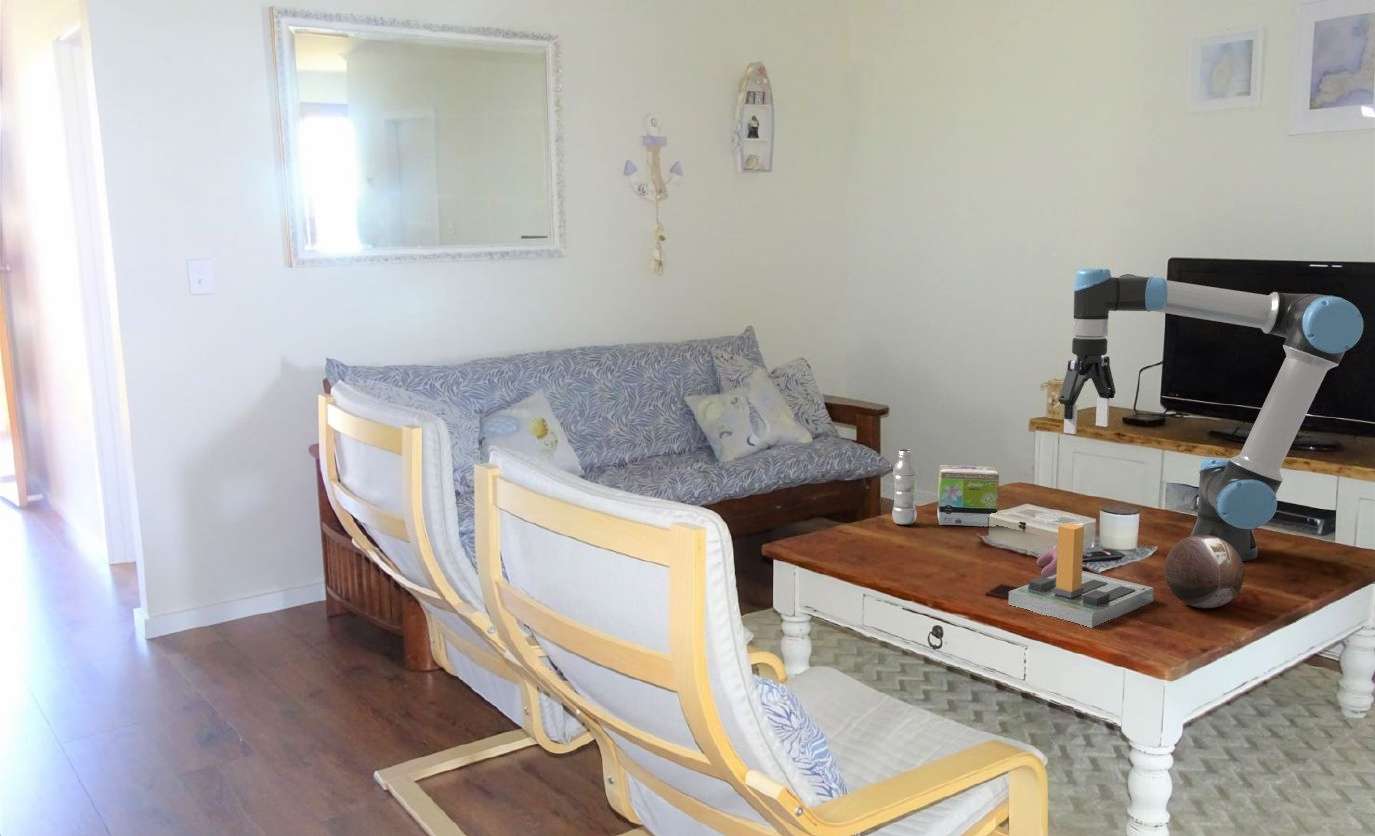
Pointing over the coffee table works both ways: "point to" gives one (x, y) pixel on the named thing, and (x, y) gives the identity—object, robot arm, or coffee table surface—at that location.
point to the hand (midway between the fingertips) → (1086, 429)
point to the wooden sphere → (1204, 571)
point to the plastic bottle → (904, 488)
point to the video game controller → (1048, 562)
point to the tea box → (967, 494)
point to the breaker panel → (1082, 599)
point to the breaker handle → (1069, 560)
